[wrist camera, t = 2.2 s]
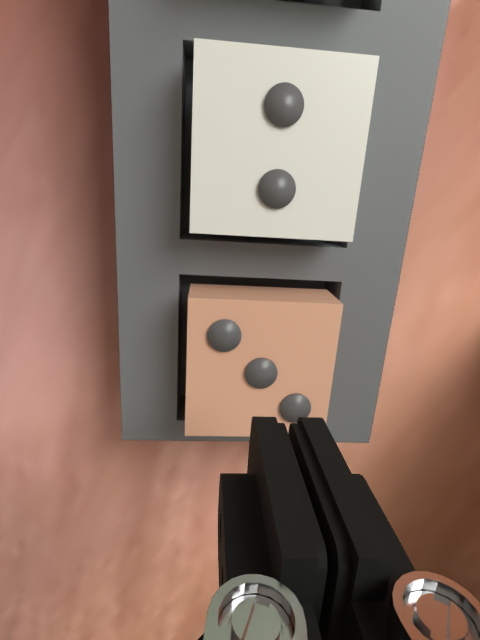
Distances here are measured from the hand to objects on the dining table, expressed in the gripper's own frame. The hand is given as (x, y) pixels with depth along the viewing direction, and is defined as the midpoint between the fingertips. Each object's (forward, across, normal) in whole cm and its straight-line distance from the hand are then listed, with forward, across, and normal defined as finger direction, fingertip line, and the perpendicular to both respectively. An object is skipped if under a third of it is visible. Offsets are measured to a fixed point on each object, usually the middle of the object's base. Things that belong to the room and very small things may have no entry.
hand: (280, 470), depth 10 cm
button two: (+6, 0, -8) cm, 10 cm away
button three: (+6, 0, -1) cm, 6 cm away
